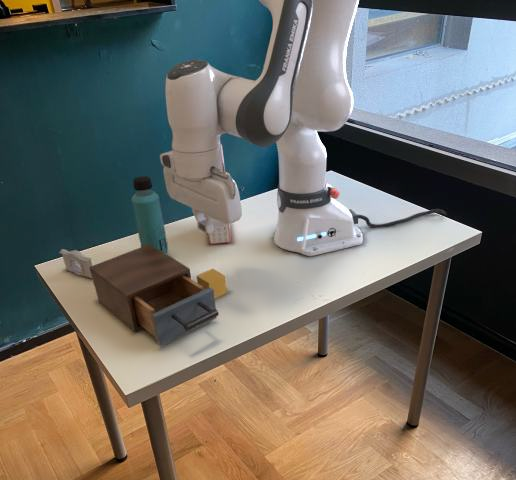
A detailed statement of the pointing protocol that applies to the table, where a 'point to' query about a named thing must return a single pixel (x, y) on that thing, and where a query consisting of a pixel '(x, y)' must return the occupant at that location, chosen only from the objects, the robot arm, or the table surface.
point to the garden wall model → (82, 261)
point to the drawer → (174, 308)
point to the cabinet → (133, 279)
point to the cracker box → (220, 225)
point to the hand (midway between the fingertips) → (206, 230)
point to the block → (213, 281)
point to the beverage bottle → (149, 215)
